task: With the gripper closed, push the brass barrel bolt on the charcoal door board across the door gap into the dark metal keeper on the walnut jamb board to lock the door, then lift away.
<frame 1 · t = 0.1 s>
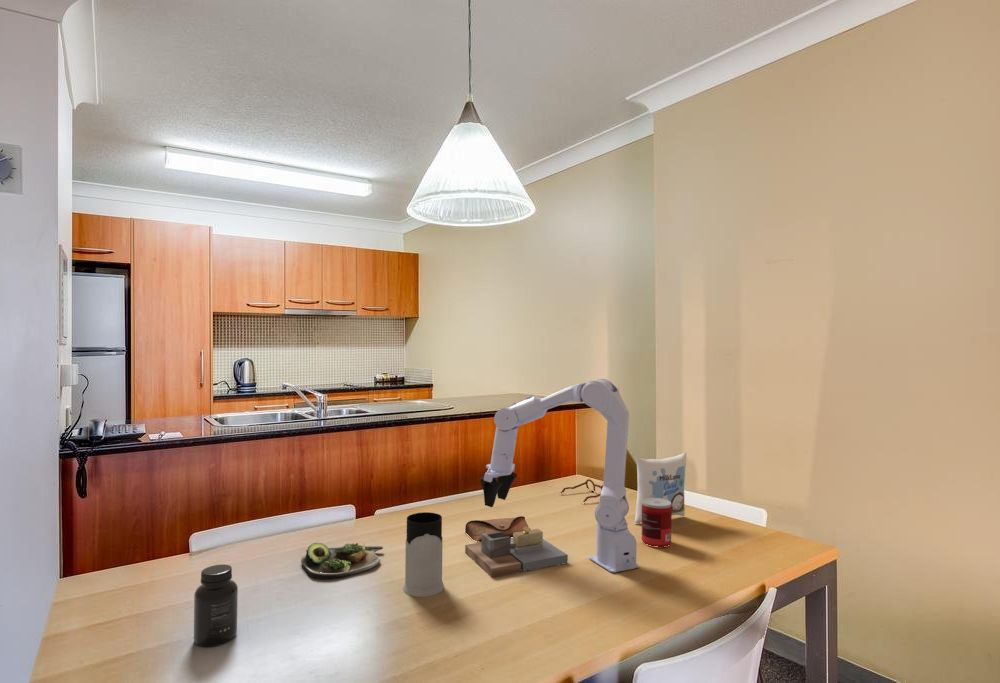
hand: (495, 502, 146), 11 cm above the table, tool pointing down, fingers open, 7 cm apart
sunglasses case: (500, 536, 152), on the table
glasses: (584, 498, 191), on the table
door leaf: (529, 555, 137), on the table
pouch: (660, 521, 165), on the table
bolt: (528, 537, 137), point 5 cm above the table, slide at 0.0 cm
jamb: (491, 562, 133), on the table
supplement bottle: (215, 638, 98), on the table
glass holder: (421, 583, 121), on the table
salad plate: (338, 566, 131), on the table
canned food: (656, 543, 147), on the table
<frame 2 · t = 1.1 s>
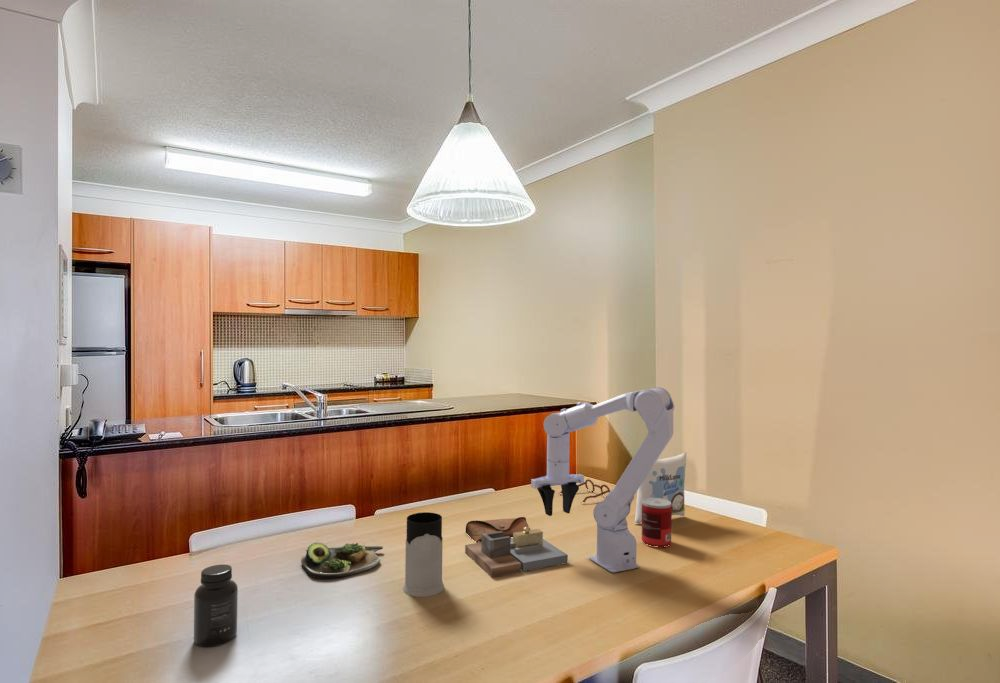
hand: (557, 513, 141), 9 cm above the table, tool pointing down, fingers open, 5 cm apart
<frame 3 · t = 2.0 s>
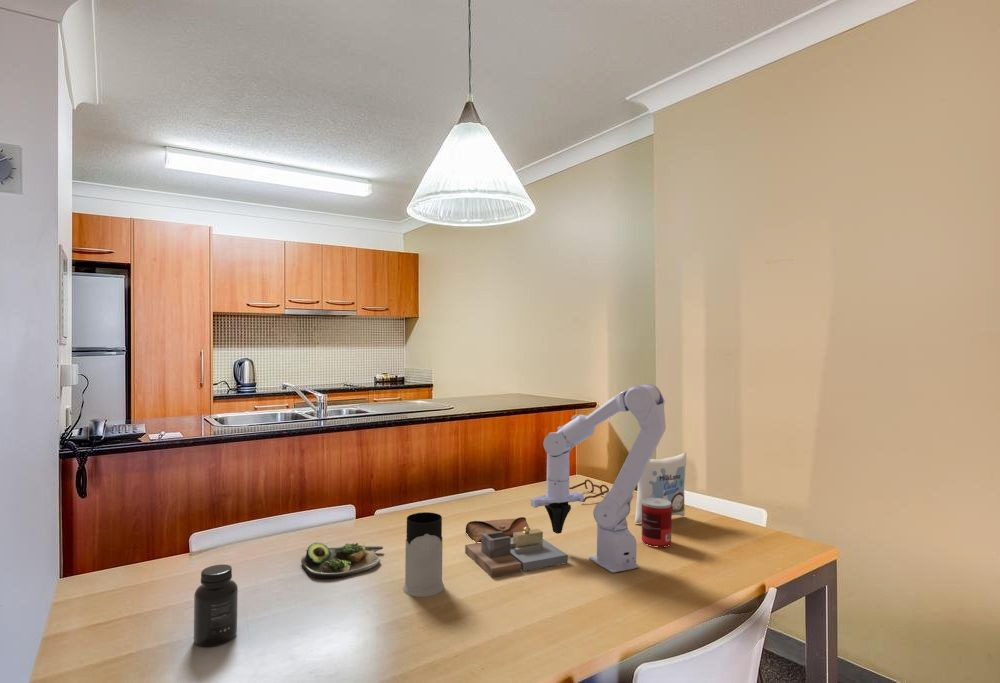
hand: (557, 532, 141), 5 cm above the table, tool pointing down, fingers closed
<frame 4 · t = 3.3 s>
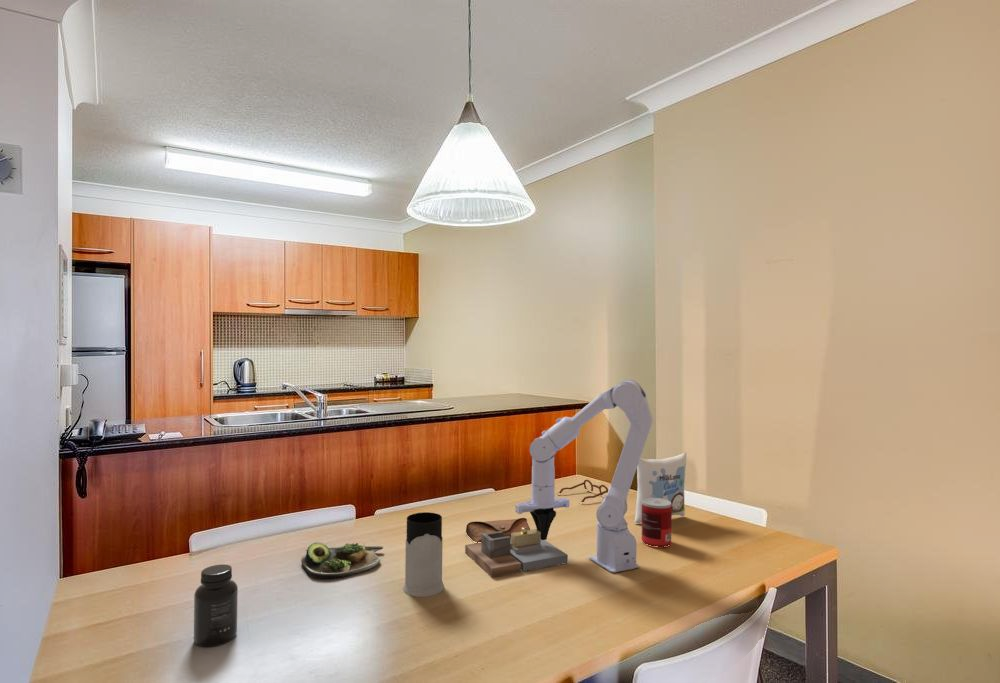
hand: (542, 538, 139), 4 cm above the table, tool pointing down, fingers closed
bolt: (525, 537, 137), point 5 cm above the table, slide at 0.6 cm, touching gripper
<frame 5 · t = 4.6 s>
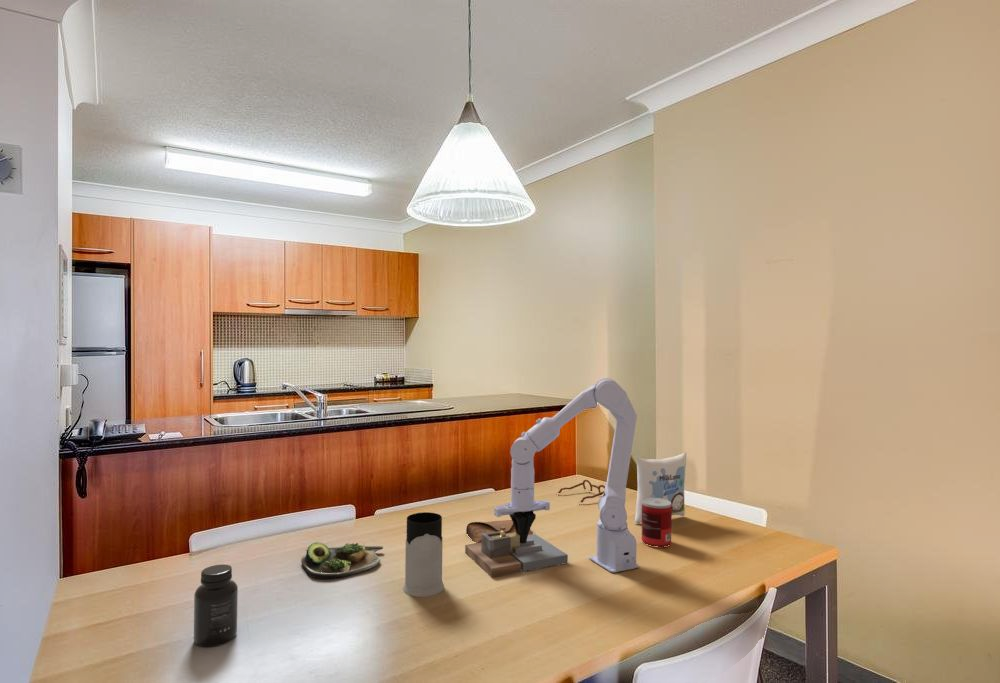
hand: (522, 542, 136), 4 cm above the table, tool pointing down, fingers closed
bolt: (504, 540, 134), point 5 cm above the table, slide at 6.4 cm, touching gripper
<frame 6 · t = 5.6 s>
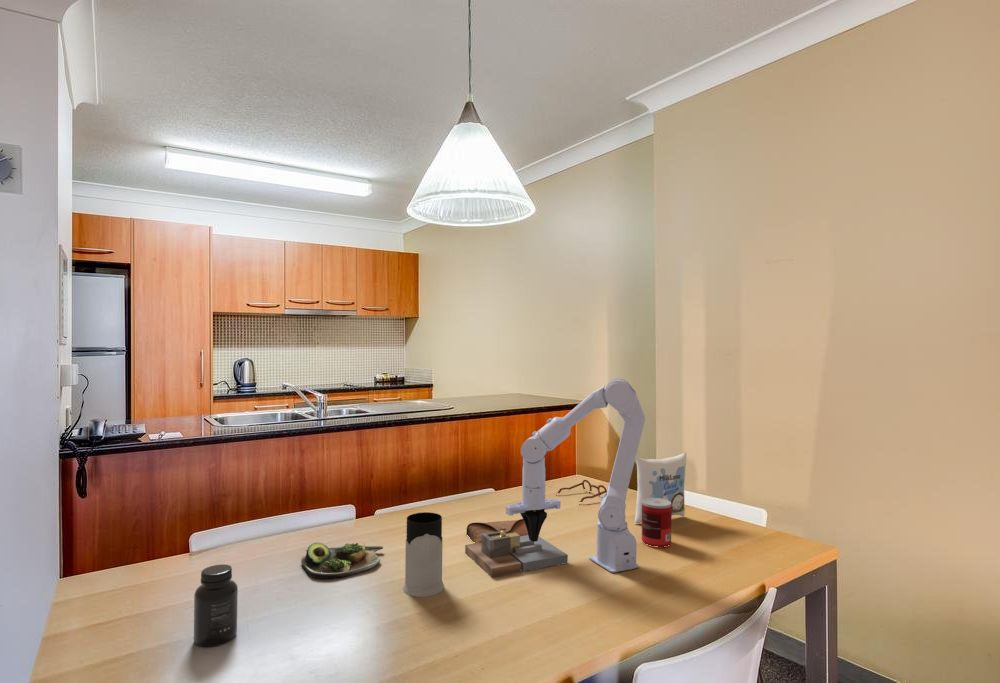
hand: (533, 540, 138), 4 cm above the table, tool pointing down, fingers closed
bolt: (504, 540, 134), point 5 cm above the table, slide at 6.4 cm
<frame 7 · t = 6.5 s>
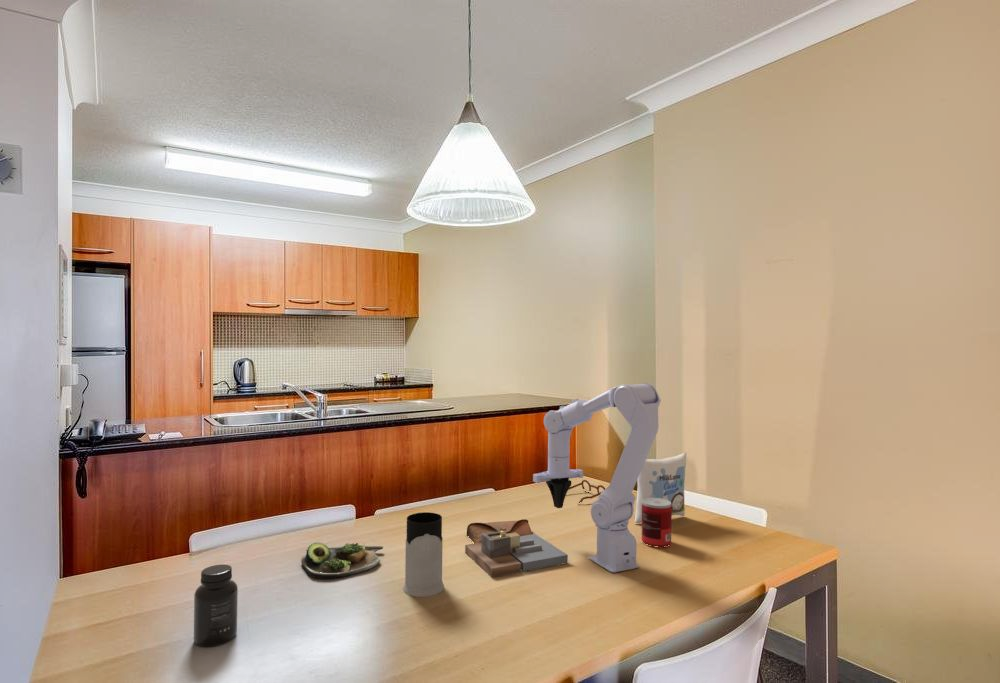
hand: (558, 507, 146), 9 cm above the table, tool pointing down, fingers closed
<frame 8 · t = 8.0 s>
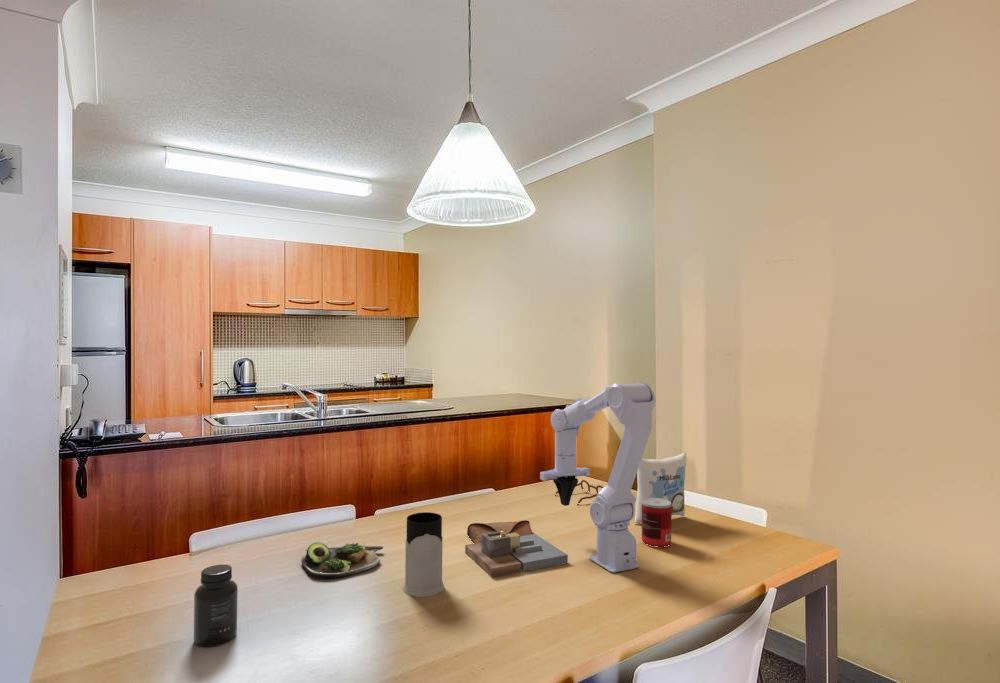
hand: (565, 504, 149), 9 cm above the table, tool pointing down, fingers closed
at the end: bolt slide at 6.4 cm; the gripper is holding nothing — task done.
